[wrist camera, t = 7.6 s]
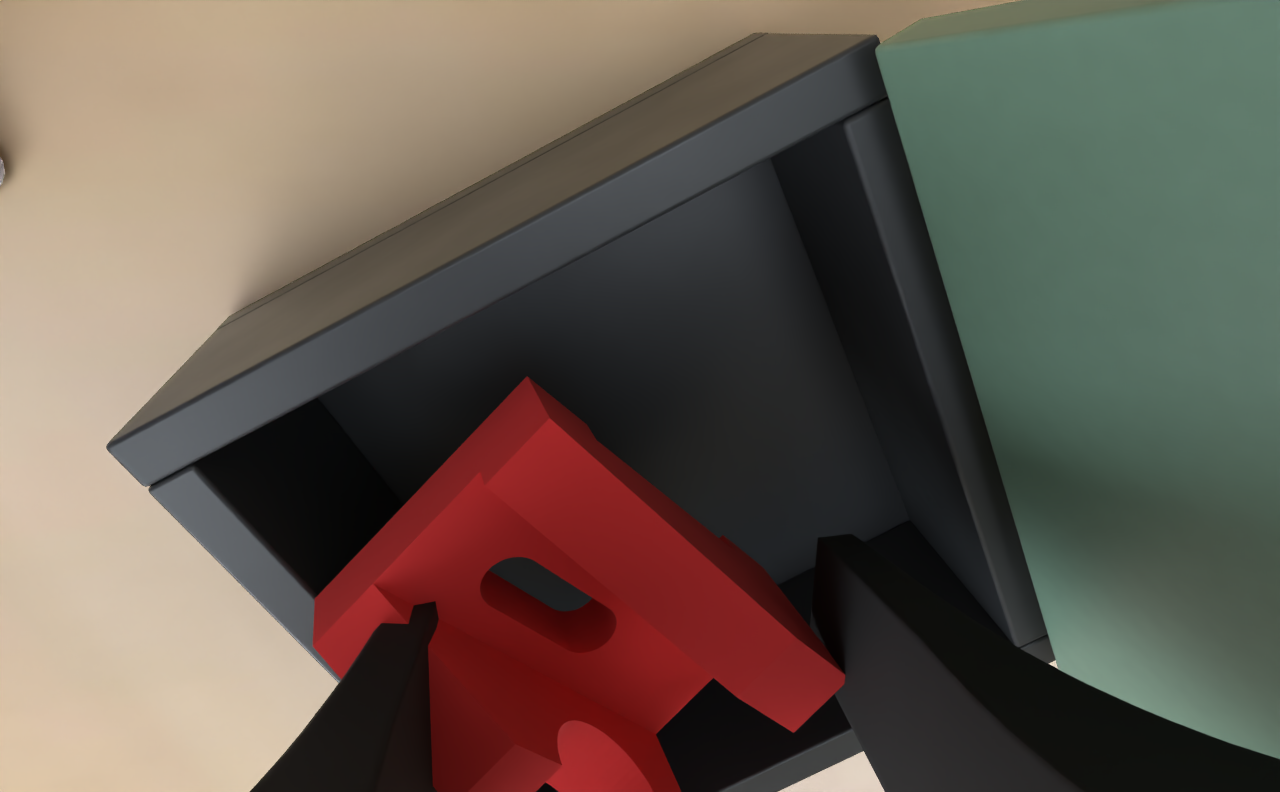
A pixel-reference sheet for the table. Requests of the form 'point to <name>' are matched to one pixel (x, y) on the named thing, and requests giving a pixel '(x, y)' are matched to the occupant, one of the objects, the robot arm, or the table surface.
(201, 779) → the table surface
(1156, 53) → the green square panel
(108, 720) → the table surface
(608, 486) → the bracket
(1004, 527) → the dark open box
